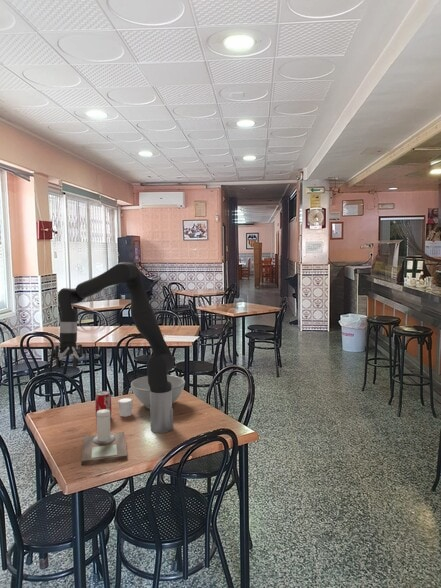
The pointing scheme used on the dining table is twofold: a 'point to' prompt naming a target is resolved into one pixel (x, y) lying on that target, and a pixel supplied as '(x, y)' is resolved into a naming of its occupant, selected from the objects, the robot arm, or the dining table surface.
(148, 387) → the decorative bowl
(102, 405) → the soda can
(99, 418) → the salt shaker
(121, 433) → the post board
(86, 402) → the dining table surface
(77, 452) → the dining table surface
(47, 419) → the dining table surface
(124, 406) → the white tapered cup
